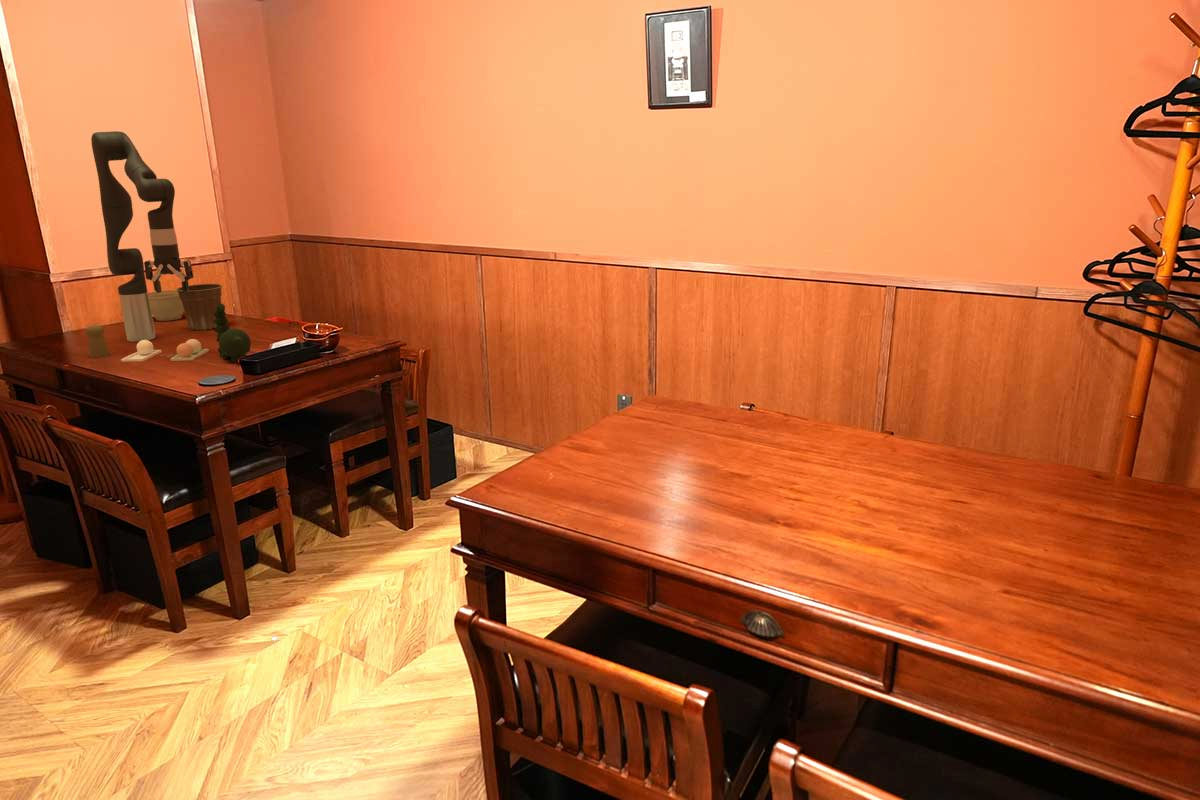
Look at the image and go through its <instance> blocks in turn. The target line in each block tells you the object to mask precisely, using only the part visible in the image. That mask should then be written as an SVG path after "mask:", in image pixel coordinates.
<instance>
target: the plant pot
mask: <svg viewBox="0 0 1200 800" xmlns="http://www.w3.org/2000/svg"><path fill="white" fill-rule="evenodd" d="M222 287H223V285H222V284H219V283H197V284H191V285H189V290H188V292H186V293H183V289H182V286H180V287H177V288H176V289H175V290H176V291H178V294H179V297H180V300H181V301H182V304H183V308H184V314H185V317H186V322H187V325H188V328H189V330H190V331H194V330H196V331H208V330H207V329H209V330H214V329H213V328H216V327H217V325H216V324H215V323H214V322H213V320H214V319H215V318H216V317H215V316H214V315H213V313H214V312H215V311H216V310H217V309H216V307H217V305H218V304H220V303H221V304H222V298H221V297H222Z"/></svg>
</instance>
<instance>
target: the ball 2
mask: <svg viewBox="0 0 1200 800" xmlns="http://www.w3.org/2000/svg"><path fill="white" fill-rule="evenodd" d="M192 354H193V348H192V346H191V345H190V344H188V343H186V342H182V343H179V345H177V347H176V355H179V356H180V357H182V358H188V357H190V356H191V355H192Z"/></svg>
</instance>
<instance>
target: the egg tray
mask: <svg viewBox="0 0 1200 800" xmlns="http://www.w3.org/2000/svg"><path fill="white" fill-rule="evenodd" d="M160 353H162V349H153V351H152V352H151V353H150V354H147V355H144V354H141V353H139V352H138V351H137V352H136V351H135V352H134V353H132V354H129V355H127V356H125V357H123V358H121V359H120V362H123V363H125V362H129V363H130V362H144V361H147V360H149V359H150V358H153V357H154V356H157V355H158V354H160Z"/></svg>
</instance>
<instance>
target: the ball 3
mask: <svg viewBox="0 0 1200 800" xmlns="http://www.w3.org/2000/svg"><path fill="white" fill-rule="evenodd" d="M185 343H188V344H190V345H191V346H192V348H193V354H195V353H198V352H199V351H200V349H202V344H201V342H200V341H199V340H198V339H196V338H195V339H194V338H191V339H188V340H186V341H185Z"/></svg>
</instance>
